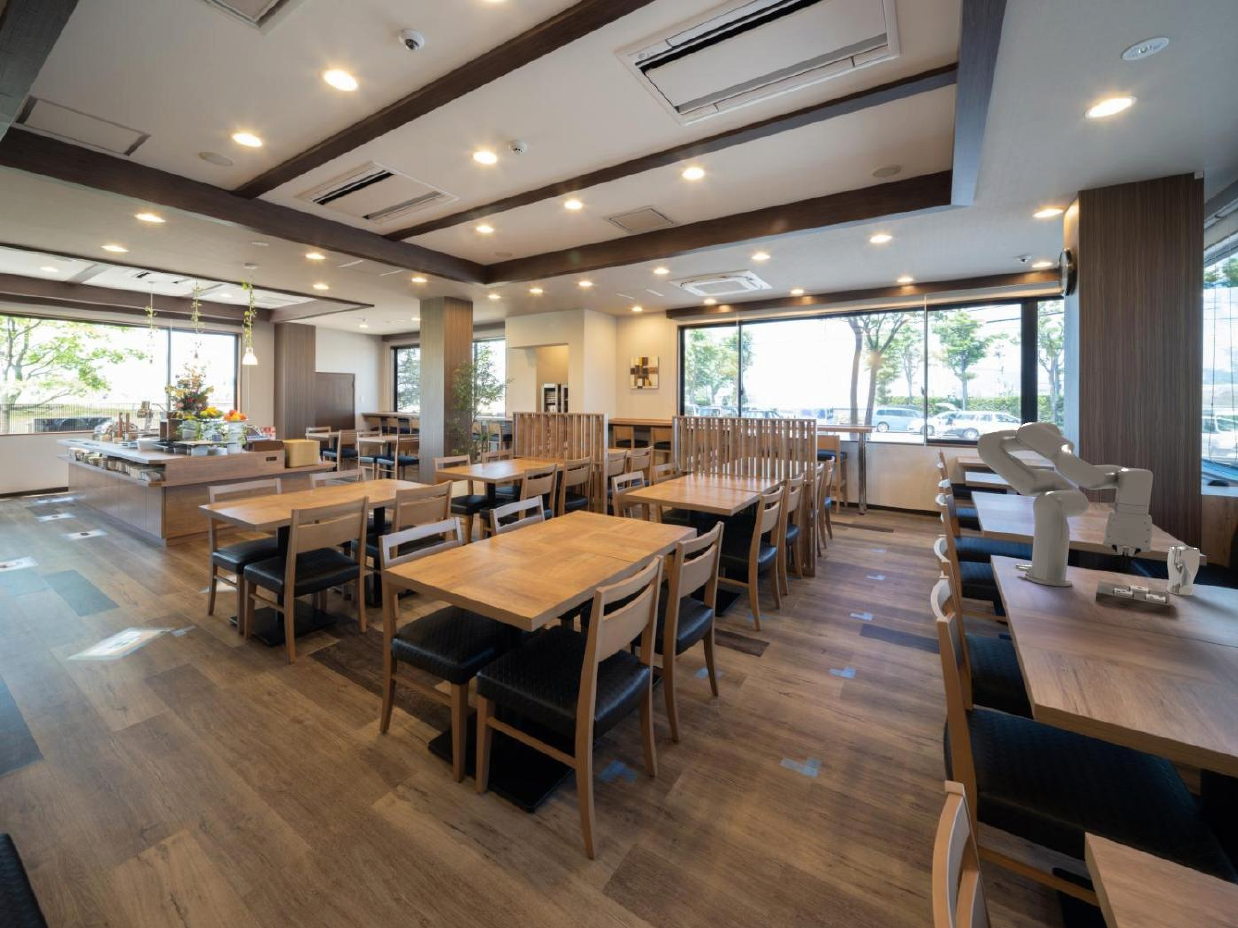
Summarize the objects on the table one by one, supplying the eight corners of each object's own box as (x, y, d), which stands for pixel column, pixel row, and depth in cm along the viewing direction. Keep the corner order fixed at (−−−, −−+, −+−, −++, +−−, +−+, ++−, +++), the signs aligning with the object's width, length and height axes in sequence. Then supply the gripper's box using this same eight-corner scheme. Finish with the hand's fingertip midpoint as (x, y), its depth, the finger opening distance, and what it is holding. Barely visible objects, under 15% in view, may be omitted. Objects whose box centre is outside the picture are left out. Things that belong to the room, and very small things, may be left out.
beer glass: (1180, 589, 173) (1186, 545, 172) (1202, 597, 167) (1207, 551, 165) (1157, 588, 174) (1162, 544, 172) (1177, 596, 167) (1183, 550, 166)
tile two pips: (1145, 606, 157) (1146, 596, 157) (1145, 602, 160) (1146, 593, 160) (1164, 610, 155) (1165, 599, 154) (1164, 606, 158) (1165, 596, 157)
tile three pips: (1113, 600, 162) (1114, 590, 162) (1113, 597, 165) (1114, 587, 165) (1131, 603, 160) (1132, 594, 159) (1131, 600, 162) (1132, 590, 162)
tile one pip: (1129, 597, 165) (1130, 587, 165) (1129, 594, 168) (1130, 584, 167) (1147, 600, 162) (1148, 590, 162) (1147, 597, 165) (1148, 587, 165)
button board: (1095, 601, 164) (1096, 592, 164) (1098, 589, 174) (1098, 581, 173) (1169, 615, 153) (1170, 605, 152) (1167, 602, 163) (1168, 592, 162)
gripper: (1097, 507, 162) (1090, 564, 165) (1166, 514, 152) (1158, 576, 154) (1098, 503, 167) (1092, 559, 170) (1166, 510, 157) (1158, 569, 159)
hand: (1123, 567), depth 162 cm, fingers closed
